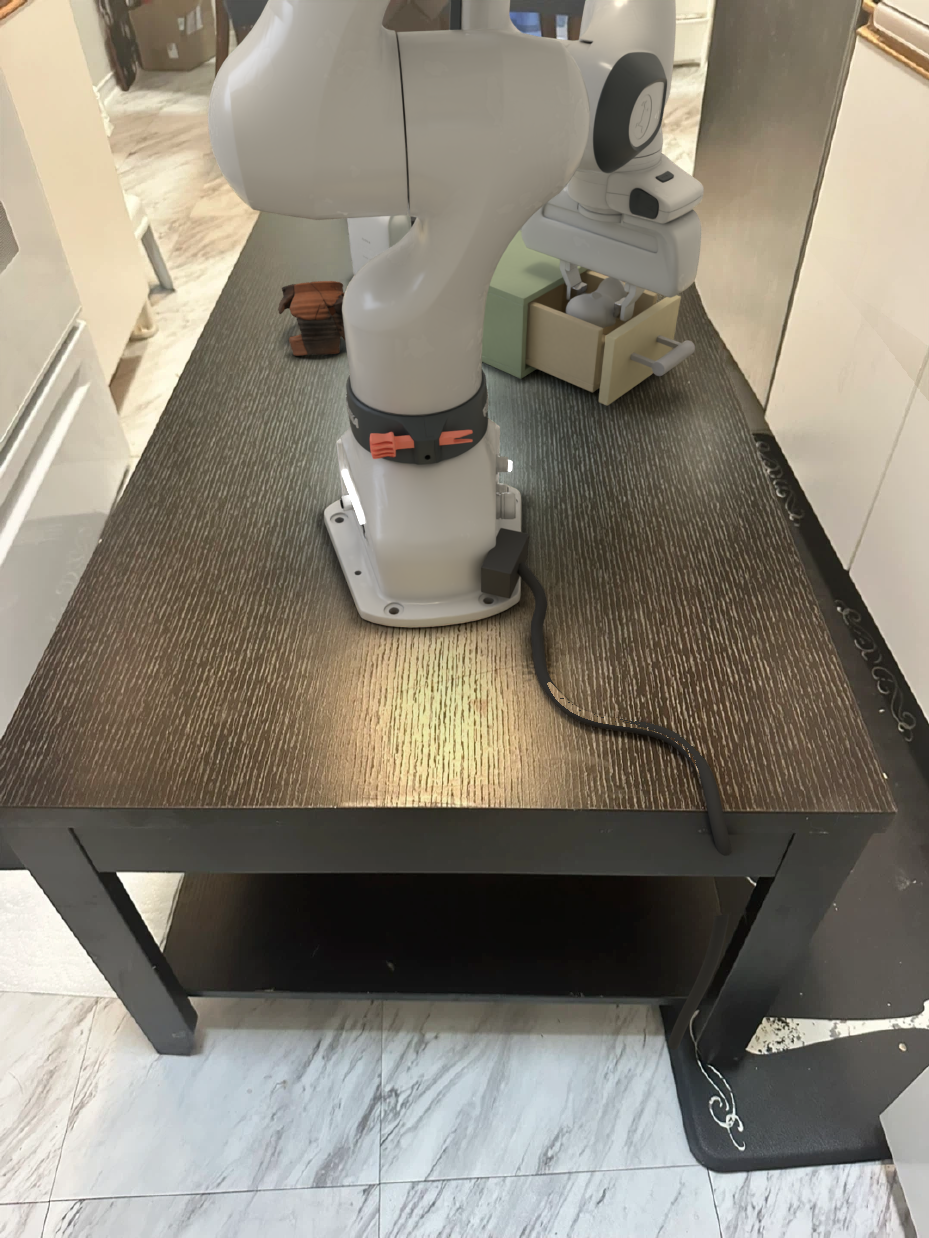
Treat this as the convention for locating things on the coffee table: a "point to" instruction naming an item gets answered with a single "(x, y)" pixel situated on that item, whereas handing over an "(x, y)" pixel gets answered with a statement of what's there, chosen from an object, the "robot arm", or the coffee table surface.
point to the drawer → (604, 342)
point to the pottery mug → (315, 316)
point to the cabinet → (515, 304)
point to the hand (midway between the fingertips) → (599, 309)
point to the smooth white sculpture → (598, 303)
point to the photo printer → (374, 236)
